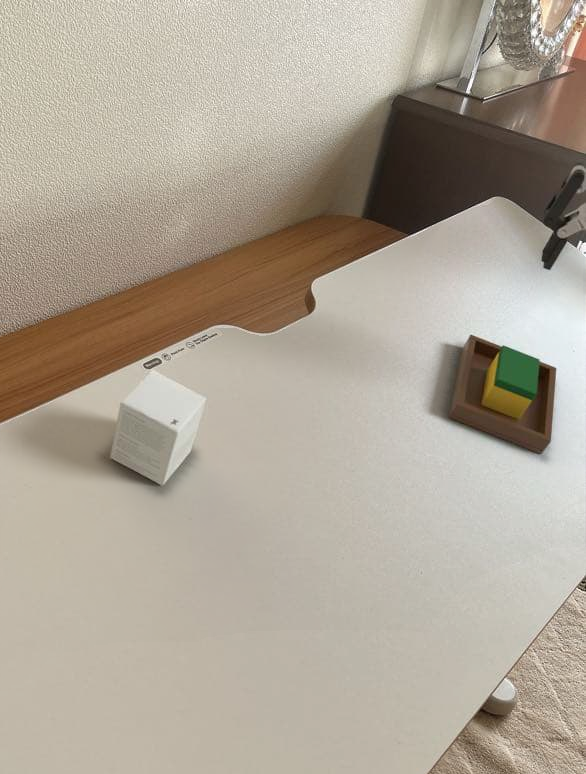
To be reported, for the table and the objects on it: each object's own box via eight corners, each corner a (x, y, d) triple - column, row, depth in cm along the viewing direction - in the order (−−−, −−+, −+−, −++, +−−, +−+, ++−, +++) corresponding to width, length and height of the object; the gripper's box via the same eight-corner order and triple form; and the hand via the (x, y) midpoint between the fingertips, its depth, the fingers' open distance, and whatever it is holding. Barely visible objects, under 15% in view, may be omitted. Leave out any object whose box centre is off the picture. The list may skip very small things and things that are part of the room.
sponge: (486, 370, 106) (502, 344, 103) (522, 385, 106) (540, 359, 103) (480, 405, 102) (497, 378, 99) (518, 419, 102) (536, 394, 99)
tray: (462, 347, 110) (470, 334, 108) (547, 380, 109) (556, 367, 107) (448, 417, 100) (456, 404, 98) (541, 454, 99) (551, 441, 98)
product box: (191, 452, 88) (209, 398, 82) (162, 488, 84) (178, 433, 78) (138, 424, 89) (152, 367, 83) (107, 457, 85) (119, 401, 79)
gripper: (749, 141, 84) (647, 284, 96) (605, 90, 85) (522, 239, 97) (758, 175, 79) (649, 321, 91) (605, 121, 80) (518, 274, 92)
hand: (584, 279), depth 94 cm, fingers open, 8 cm apart
